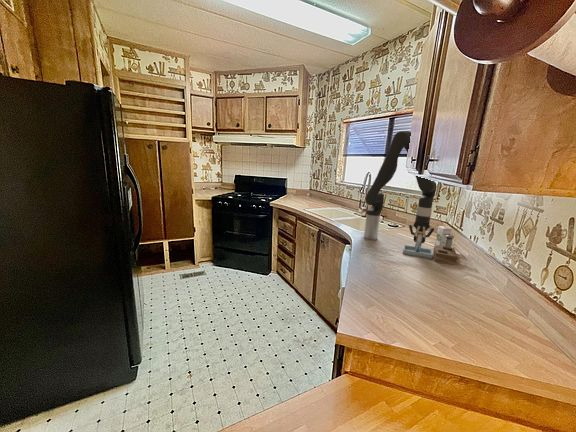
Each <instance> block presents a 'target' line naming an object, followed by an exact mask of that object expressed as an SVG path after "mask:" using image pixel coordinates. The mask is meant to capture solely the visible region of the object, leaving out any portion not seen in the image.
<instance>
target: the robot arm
mask: <svg viewBox="0 0 576 432" xmlns="http://www.w3.org/2000/svg"><path fill="white" fill-rule="evenodd" d="M411 132H412V131H410V130H400V131H398V132H396V133H395V134H394V136H393V137H392V140H391V143H390V146H389V149H388V152H387V154H386V156H385V158H384V160H383V162H382V164H381V166H380V168H379V170H378V173H377V175H376V177H375V179H374V181H373V183H372V185H371V187H370V188H369V190H368V192H367V193H366V195H365V202H366V205H368V206H370V207H369V208H368V209H367V210H366V215H365V223H364V232H363V238H365V239H366V240H371V241H372V240H373V241H374V240H377V239H378V236H379V226H380V221H381V220H380V219H381V213H382V211H383V207H384V201H385V197H384V194H383V192H381V189H382V188H383V187H385V186H386V185H387V184H388V183H389V182H390V181H391V180H392V178H393V177H394V175H395V173H396V171H397V168H398V161H399V156H400V154H401V152H402V151H403V149H404V150H405V151H406V152H407V154H408V149H409V143H410V136H411ZM414 176H415V175H414ZM415 178H416V183H417V185H418V189H420V191H421V193H422V194H421V196H420V197H419V200H418V205H417V209H416V213H415V219H414V223H413V224H410V223H409V225H408V227H409V232H410V235H412V236H413V242H414V243H416V238H417V233H418V231H422V232H423V239H422V244H424V243H426V238H430V237H431V235H432V234H433V232H434V231H435V228H434V227H432V226H431V225H430V223H431V217H432V211H433V210H432V208H433V203H434V202H433V200H434V198H435V195H436V192H437V188H438V186H437V182H436V181H434V180H433V181H431V180H432V179H430V180H428V179H425V178H421V177H418V176H415ZM413 229H415V231H414V230H413ZM427 230H428V233H426V231H427Z"/></svg>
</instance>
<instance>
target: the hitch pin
mask: <svg viewBox="0 0 576 432" xmlns="http://www.w3.org/2000/svg"><path fill="white" fill-rule="evenodd" d="M422 239H423V232H422V231H418V233H417V238H416V242H415V245H414V247H415V250H414V251H415V252H420V250H421V248H422V244H423V243H422Z"/></svg>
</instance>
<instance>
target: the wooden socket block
mask: <svg viewBox="0 0 576 432" xmlns="http://www.w3.org/2000/svg"><path fill="white" fill-rule="evenodd" d="M444 248H445V246H439V245H435V244H434V248H433V250H432V254H433V259H434V262H437V263H440V264H441V263H442V264H448V265H451V266H457V261H458V255H457V252H456V249H455V247H451V250H445V249H444Z"/></svg>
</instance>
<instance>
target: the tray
mask: <svg viewBox="0 0 576 432" xmlns="http://www.w3.org/2000/svg"><path fill="white" fill-rule="evenodd" d="M402 249H403V250H402V254H403V255H408V256H414V257H419V258H424V259H429V260H433V257H434V254H433V249H432V248H431V249H430V248H425V247H421V250H420V252H415V251H414V250H415V245H414V246H413V245H409V244H408V245H407V244H404V245H403V248H402Z"/></svg>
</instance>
